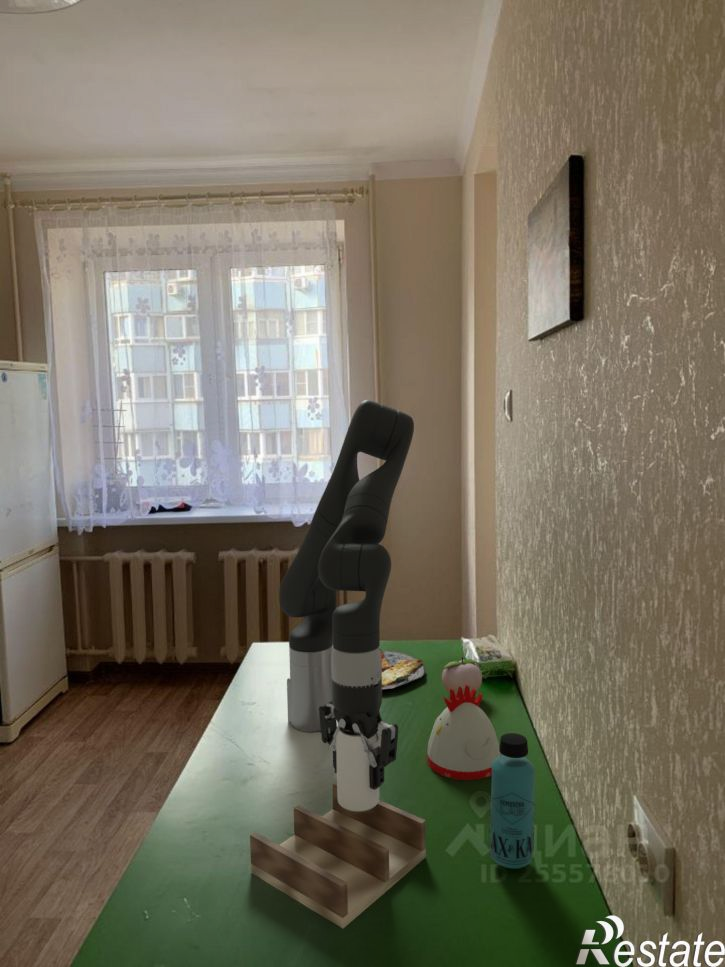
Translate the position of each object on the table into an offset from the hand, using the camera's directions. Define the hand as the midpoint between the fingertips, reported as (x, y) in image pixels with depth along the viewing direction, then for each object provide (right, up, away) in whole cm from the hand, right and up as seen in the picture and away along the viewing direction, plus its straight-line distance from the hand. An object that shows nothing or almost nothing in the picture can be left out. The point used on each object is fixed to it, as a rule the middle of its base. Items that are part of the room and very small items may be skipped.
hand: (358, 779), depth 111 cm
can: (0, -4, +1) cm, 4 cm away
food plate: (+4, -3, +71) cm, 71 cm away
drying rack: (-3, -12, -2) cm, 12 cm away
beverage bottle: (+23, -12, -3) cm, 26 cm away
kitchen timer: (+20, -8, +28) cm, 36 cm away
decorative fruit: (+24, -5, +56) cm, 61 cm away
